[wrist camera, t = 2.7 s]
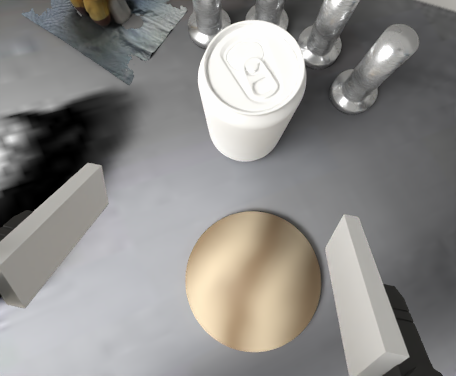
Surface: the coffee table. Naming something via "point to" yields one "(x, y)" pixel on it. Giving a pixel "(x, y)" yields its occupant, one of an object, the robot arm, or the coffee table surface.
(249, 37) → the beverage can
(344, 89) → the posts
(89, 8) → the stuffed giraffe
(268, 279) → the cork coaster
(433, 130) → the coffee table surface
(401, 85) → the coffee table surface
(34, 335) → the coffee table surface
